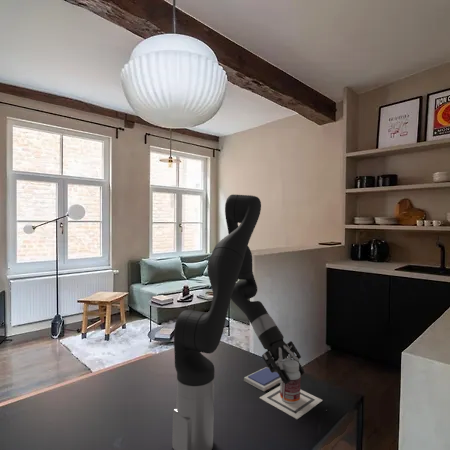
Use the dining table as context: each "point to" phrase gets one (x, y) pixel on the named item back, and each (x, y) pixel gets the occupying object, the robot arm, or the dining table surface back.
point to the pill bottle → (291, 382)
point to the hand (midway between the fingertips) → (295, 378)
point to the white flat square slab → (291, 409)
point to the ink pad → (263, 379)
